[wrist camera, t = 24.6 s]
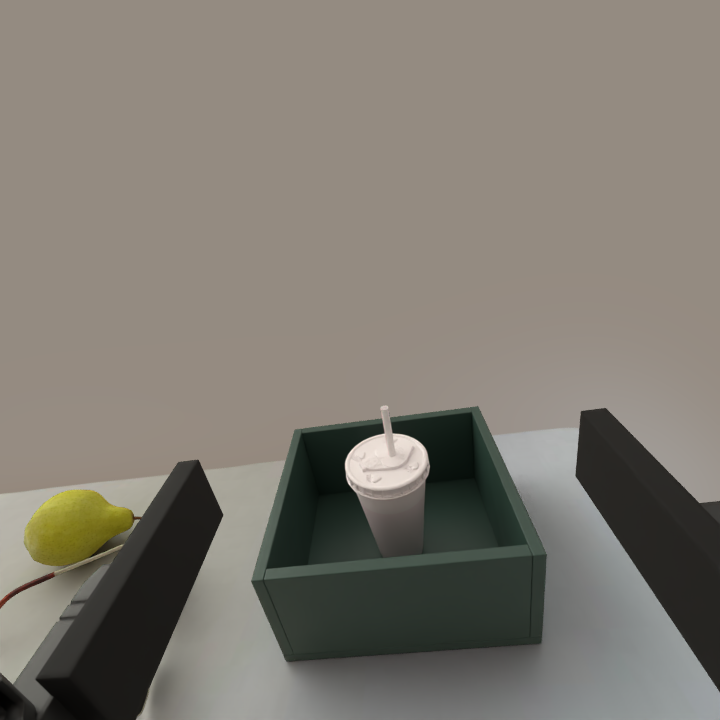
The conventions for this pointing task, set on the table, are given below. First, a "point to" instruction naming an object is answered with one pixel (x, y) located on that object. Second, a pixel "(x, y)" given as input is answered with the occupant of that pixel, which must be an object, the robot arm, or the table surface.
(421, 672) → the table surface
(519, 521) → the bin
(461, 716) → the table surface
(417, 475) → the smoothie
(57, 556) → the fruit
